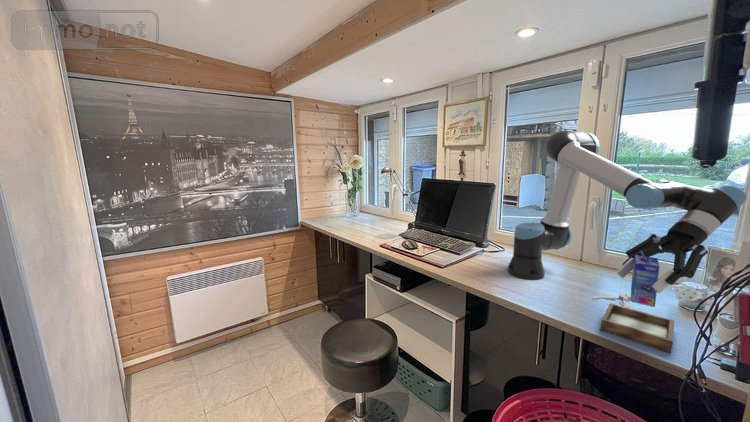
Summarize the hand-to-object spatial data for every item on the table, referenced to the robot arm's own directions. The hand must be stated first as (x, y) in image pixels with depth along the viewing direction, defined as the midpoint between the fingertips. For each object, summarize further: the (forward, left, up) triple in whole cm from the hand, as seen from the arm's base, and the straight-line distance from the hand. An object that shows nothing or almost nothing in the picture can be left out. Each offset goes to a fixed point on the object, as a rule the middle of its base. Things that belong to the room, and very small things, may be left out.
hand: (636, 281), depth 87 cm
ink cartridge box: (+2, +2, -6) cm, 6 cm away
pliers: (-5, +24, -17) cm, 30 cm away
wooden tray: (+2, +2, -16) cm, 16 cm away
